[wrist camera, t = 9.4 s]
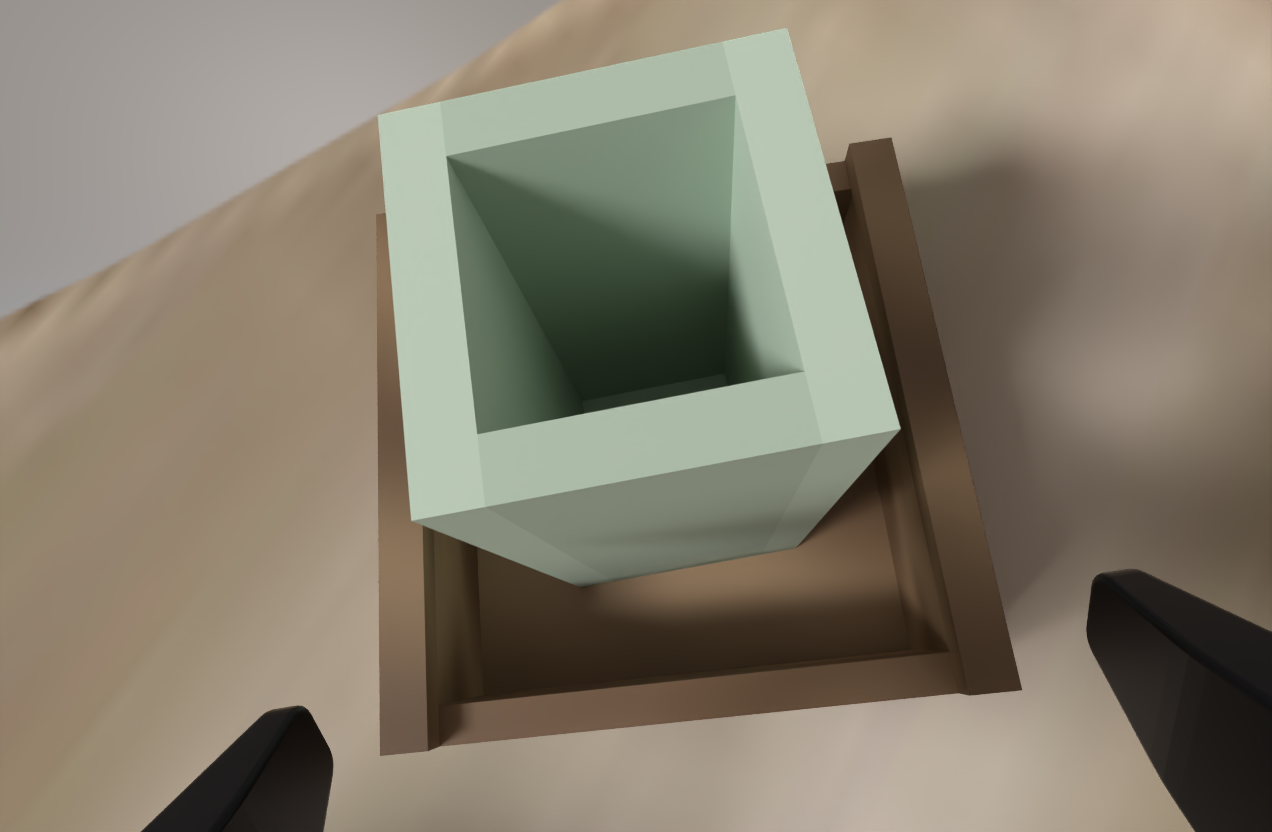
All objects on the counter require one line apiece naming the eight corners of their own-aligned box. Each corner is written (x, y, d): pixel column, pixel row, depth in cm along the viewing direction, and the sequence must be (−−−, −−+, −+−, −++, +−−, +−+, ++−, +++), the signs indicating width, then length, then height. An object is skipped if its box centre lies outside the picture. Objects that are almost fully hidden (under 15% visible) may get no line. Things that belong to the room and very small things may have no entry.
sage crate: (795, 548, 20) (900, 429, 9) (580, 587, 20) (410, 520, 9) (749, 347, 22) (787, 28, 10) (551, 386, 22) (377, 115, 11)
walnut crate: (945, 677, 20) (1022, 690, 15) (461, 727, 21) (379, 755, 16) (853, 244, 23) (891, 137, 18) (445, 301, 24) (376, 214, 19)
